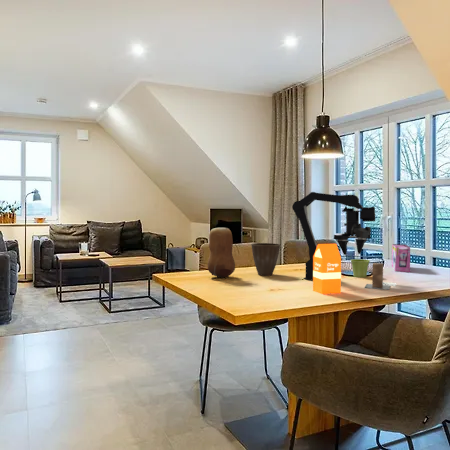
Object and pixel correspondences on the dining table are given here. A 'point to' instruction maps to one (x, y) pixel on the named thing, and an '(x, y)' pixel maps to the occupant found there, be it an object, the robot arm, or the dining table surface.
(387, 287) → the coaster
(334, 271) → the orange juice
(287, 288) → the dining table surface
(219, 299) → the dining table surface
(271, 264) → the plant pot
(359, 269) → the plant pot
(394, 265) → the gum box
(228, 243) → the butternut squash
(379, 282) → the block
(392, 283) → the tile
